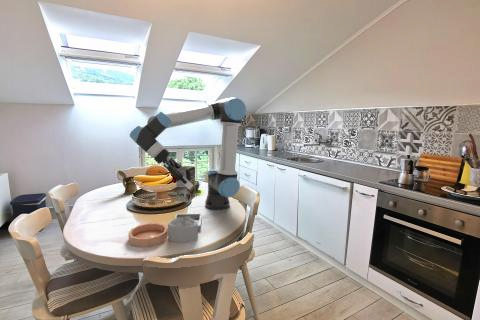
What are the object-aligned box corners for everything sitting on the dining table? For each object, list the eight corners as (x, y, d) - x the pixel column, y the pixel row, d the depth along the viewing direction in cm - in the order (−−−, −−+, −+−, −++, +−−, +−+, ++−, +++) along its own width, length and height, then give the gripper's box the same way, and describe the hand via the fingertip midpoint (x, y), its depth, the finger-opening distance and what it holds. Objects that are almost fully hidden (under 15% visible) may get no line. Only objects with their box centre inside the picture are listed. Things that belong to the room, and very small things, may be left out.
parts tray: (201, 217, 136) (201, 213, 135) (200, 230, 121) (200, 225, 120) (176, 218, 134) (175, 214, 134) (171, 231, 119) (171, 226, 119)
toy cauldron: (208, 191, 185) (208, 176, 183) (194, 196, 172) (194, 181, 171) (192, 188, 193) (192, 174, 191) (178, 192, 180) (178, 178, 178)
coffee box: (188, 202, 120) (188, 169, 117) (176, 201, 121) (175, 169, 118) (196, 196, 129) (195, 166, 126) (184, 195, 130) (183, 165, 127)
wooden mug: (115, 195, 172) (114, 169, 169) (132, 190, 184) (130, 166, 181) (124, 197, 168) (123, 171, 165) (140, 192, 180) (139, 167, 177)
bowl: (169, 229, 121) (169, 222, 121) (163, 245, 105) (163, 238, 105) (135, 230, 119) (135, 223, 119) (124, 247, 104) (123, 239, 103)
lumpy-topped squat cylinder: (177, 230, 121) (177, 213, 119) (202, 234, 117) (202, 216, 115) (165, 240, 111) (164, 221, 109) (191, 244, 107) (191, 225, 106)
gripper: (158, 155, 131) (189, 183, 135) (147, 162, 109) (184, 196, 113) (168, 145, 131) (198, 174, 135) (159, 150, 108) (196, 185, 113)
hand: (192, 184), depth 124 cm, fingers closed on coffee box, 10 cm apart
